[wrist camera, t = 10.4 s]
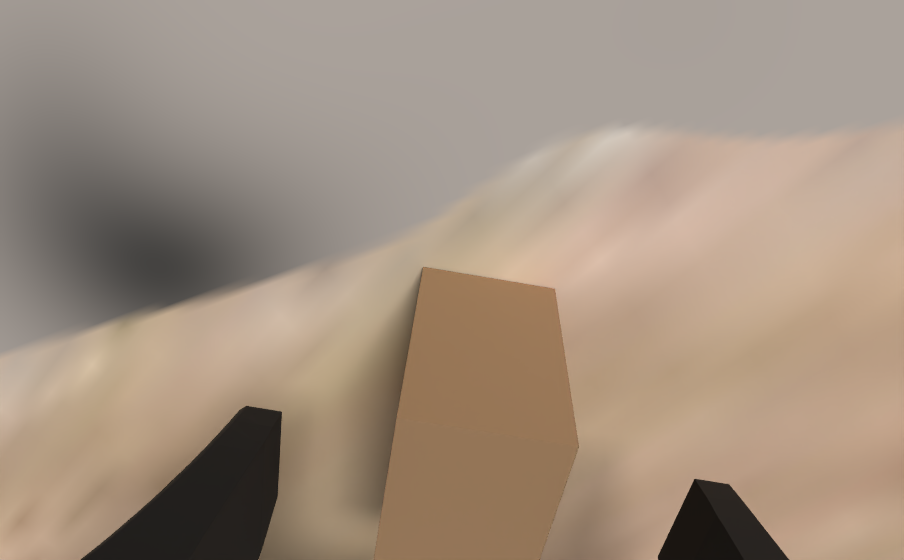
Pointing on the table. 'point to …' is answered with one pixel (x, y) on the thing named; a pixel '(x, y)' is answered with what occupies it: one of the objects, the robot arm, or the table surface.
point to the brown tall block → (479, 424)
